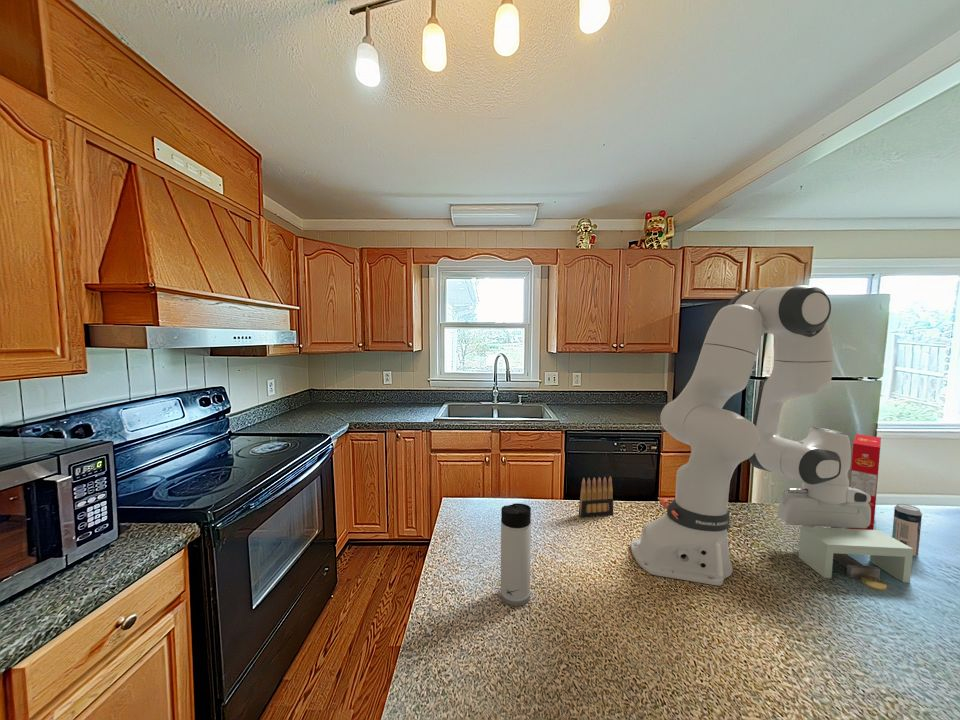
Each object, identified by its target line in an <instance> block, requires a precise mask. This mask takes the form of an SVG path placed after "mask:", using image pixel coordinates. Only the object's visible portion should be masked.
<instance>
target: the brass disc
mask: <svg viewBox="0 0 960 720" xmlns="http://www.w3.org/2000/svg"><path fill="white" fill-rule="evenodd" d="M860 582H861V584H863V585H864V586H866V587H868V588H870V589H872V590H874V591H878V592H886V591H887V589H888V586H887V585H888V584H887V583H886V582H885V581H884V580H882V579H881V578H879V579H878V578H876V577H873V576H869V575H862V576H861V579H860Z"/></svg>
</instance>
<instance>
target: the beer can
mask: <svg viewBox="0 0 960 720" xmlns="http://www.w3.org/2000/svg"><path fill="white" fill-rule="evenodd" d="M893 511H894V513H893V521H892V522H893V523H892V536H891V537H892V538H894V539H896V540H898V541H900V542H902V543H904V544H905V545H907V546H909V547H911V548H913V557H917V556H919V554H920V553H919V552H920V551H919V549H920V538H921V528H922V527H921V526H922V517H923V513H922V511H921V510H920V508H918V507H916V506H914V505H910V504H905V503H897V504H896V505H895V506H894V510H893Z"/></svg>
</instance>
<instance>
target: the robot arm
mask: <svg viewBox="0 0 960 720" xmlns="http://www.w3.org/2000/svg"><path fill="white" fill-rule="evenodd" d="M831 313H832V304H831V300H830V298H829V297H828V295H827V294H826V292H825V291H824V290H823V289H822V288H819V287H817V286H813V285H812V286H810V285H795V286H781V287H779V286H771V287H764V288H760V289H756V290H747V291H744V292H741V293H739V294H737V295H735V296H734V297H733V298H731V300H730V301H729V302H728V303H727V305H725V306H723V307H722V308H720V309H719V310H718V312H717V313H716V315H715V316H714V318H713V320H712V322H711V324H710V326H709V327H708V330H707V332H706V336H705V338H704V341H703V344H702V347H701V349H700V354H699V356H698V360H697V362H696V364H695V368H694V370H693V372H692V375H691V377H690V379H689V380H688V382H687V383H686V385H685V387H684V388H683V389H682V391H681V392H680V393H679V395H677V397H676V398H674V399H673V400H671V401H670V402H667V403H666V404H665V405H664V406H663V408H662V410H661V413H660V417H659V418H660V419H659V420H660V425H661V427H662V428H663V429H664V431H665V432H666V433H668V435H670V436H671V437H672V438H673V439H675V440H677V441H678V442H681V443H683V444H686V445H688V446H690V449H691V451H690V456H689V459H688V461H687V463H684V464H682V465H681V466H680V467H678V469H677V471H676V476H675V478H676V480H675V498H674V499H673V500H672V502H671V503H670V501H669V500H668V499H667V498H665V497H664V498H661V499H660V501H659V504H660V506H662V507H663V509H664V510H665V509H667V510H666V513H664V514H663V515H662V516H660V517H658V518H656V519H654V520H652V521H651V522H649V523H646V524H645V525H644V526H643V529H642V532H641V534H640V538H634V539H633V540H631V544H630V551H631V554H632V556H633V558H634V559H635V562H636V563H637V564H638V565H639V566H640V567H641V568H642V569H643V570H644V571H646V572H647V573H649V574H650V575H653V576H658V577H665V578H670V579H677V580H683V581H687V582H694V583H699V584H705V585H706V584H707V585H713V586H717V587H719V586H723V585H724V582H725V581H724V580H725V579H726V578H729V577H730V576H731V575H732V574H733V571H734V568H733V564H732V562H731V558H730V557H731V556H730V551H729V542H728V532H729V530H730V510H729V506H728V505H729V494H730V484H731V479H732V477H733V474H734V472H735V469H736V468H737V467H738V465H740V464H741V463H742V462H745V461H747V460H748V461H749V463H750V465H752V467H754V468H756V469H759V470H762V471H767V472H770V473H775V474H777V475H779V476H782V477H785V478H789V479H792V480H794V481H798V482H800V483H802V484H801V485H802V486H801V488H794V487H793V488H792V487H791V488H790V487H789V488H786V489H785V490H783V491H782V492H781V493H780V501H779V504H778V509H777V516H778V518H779V519H780V520H781V521H782V522H784V523H785V524H787V525H788V526H789V525H790V526H801V527H814V526H823V527H825V528H842V529H843V528H846V529H849V528H867V527H868V526H869V525H870V522H871V507H870V505H869V504H868V503H869V502H870V500H871V496H870V495H869V494H867V493H865V492H863V491H861V490H859V489H857V488H854V487H852V486H850V479H849V477H848V473H849V470H851V466H852V448H851V447H852V445H851V442H850V441H851V440H850V437H849V435H847V434H846V433H844V432H843V431H839V430H835V429H829V428H825V427H820V426H819V427H818V426H811V427H810V428H809V430H808V433H807V436H806V437H805V438H804V439H801V440H799V441H795V440H792V439H789V438H786V437H785V438H784V437H782V436H780V434H779V433H778V427H779V422H780V416H781V413H782V409H783V407H784V405H785V403H786V402H787V401H790V400H791V399H795V398H800V397H804V396H805V397H806V396H810V395H813V394H816V393H818V392H820V391H822V390H824V388H826V387H827V386H828V385H829V384H830V383H831V381H832V379H833V372H834V344H833V338H832V332H831V328H830V325H829V323H828V321H829V318H830V316H831ZM765 334H769V335H773V337H774V338H775V345H774V346H775V347H774V355H773V356H774V358H773V359H774V360H773V361H774V362H773V363H774V364H773V368H772V370H771V373H770V375H769V377H766V378H765V379H764V380H763V381H762V383H761V385H760V387H759V392H758V394H757V399H756V404H755V409H754V416H753V421H751V420H749V419H747V418H746V417H744V416H742V415H740V414H739V413H736V412H735V411H732V410H728V409H724V408H723V407H724V406H725V405H726V403H727V402H728V401H729V399H731V398H732V397H733V396H734V395H736V394H738V393H741V392H742V391H743V390H745V389H746V387H747V386H748V383H749V381H750V379H751V375H752V371H753V368H754V365H755V362H756V359H757V356H758V351H759V349H760V345H761V339H762V336H763V335H765Z"/></svg>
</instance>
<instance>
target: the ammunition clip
mask: <svg viewBox="0 0 960 720" xmlns="http://www.w3.org/2000/svg"><path fill="white" fill-rule="evenodd" d="M612 481H613V479H612V476H610V475H609V477H608V481H607V478H606V476H604V477H603V479H602V478H601V477H600V476H598V478H597V480H596V478H595V476H594V477H593V478H592V480H591V479H590V477H587V481H586V480H585V477H583V478H582V481H581V486H580V487H581V488H580V494H579V495H580V497H579V505H578V515H579V516H580V517H581V518H590V517H602V516H603V517H604V516H613V515H614V498H613V491H614V490H613V482H612Z"/></svg>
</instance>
